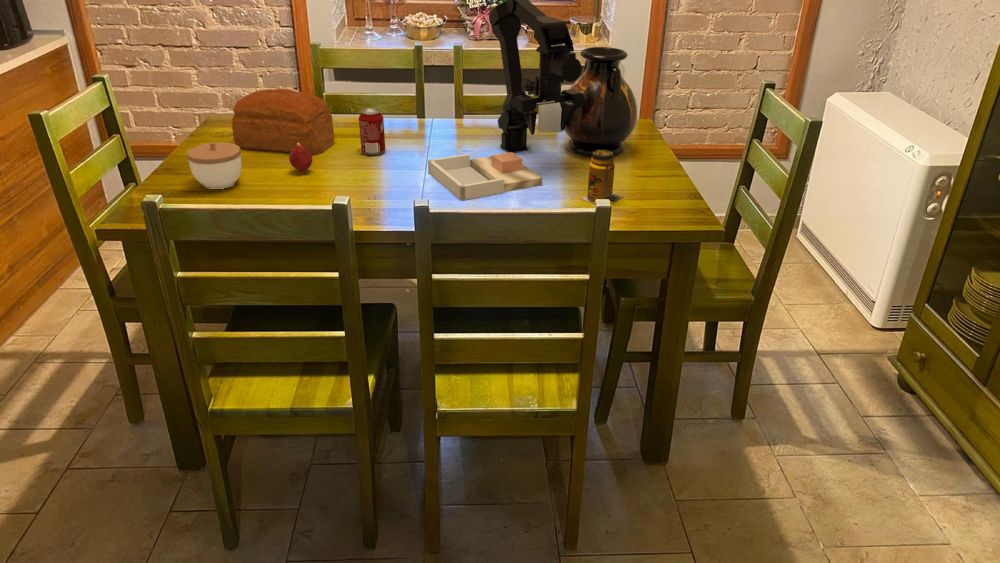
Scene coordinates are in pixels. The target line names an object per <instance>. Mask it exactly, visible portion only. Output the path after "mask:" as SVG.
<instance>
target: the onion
mask: <svg viewBox="0 0 1000 563" xmlns="http://www.w3.org/2000/svg"><path fill="white" fill-rule="evenodd" d="M289 163H290V165H291V167H293V168H294V169H295V170H296V171H297V172H300V173H305V172H306V171H307V170H308V169H309V168H310V167H311V166H312V164H313V154H311V153H310V152H309V151H308V150H307V149H306V148H305V147H303V146H302V145H300V143H297V146H296V147H295V148H294V149H293V150H292V151H291V153H290V154H289Z"/></svg>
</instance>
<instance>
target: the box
mask: <svg viewBox="0 0 1000 563" xmlns="http://www.w3.org/2000/svg"><path fill="white" fill-rule="evenodd" d="M470 160H471V155H470V154H469V153H465V154H459V155H453V156H446V157H439V158H433V159H428V160H427V162H428V163H427V165H428V168H427V169H428V174H429V175H431V177H433V178H434V179H435V180H437V181H438V182H439V183H441V185H442V186H444V188H446V190H449V191H450V192H451V193H452V194H453V195H455V197H457V198H458V200H460V201H465V200H471V199H472V200H473V199H476V198H482V197H483V198H484V197H488V196H494V195H498V194H499V195H500V194H504V193H505V192H504V179H503V178H501V179H495V180H488V179H486V178H485V177H484V176H482V175H481V174H480V173H478V172H477V171H476V170H474V169H473V168H472V167H470Z"/></svg>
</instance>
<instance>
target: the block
mask: <svg viewBox="0 0 1000 563" xmlns="http://www.w3.org/2000/svg"><path fill="white" fill-rule="evenodd" d="M491 156H492V167H494V168H495V169H496V170H498V171H499V172H501V173H507V172H513V171H519V170H522V165H523V160H524V159H523V158H522V157H520V156H518V155H517V154H515V152H513V153H512V152H505V153H498V154H493V155H491Z"/></svg>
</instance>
